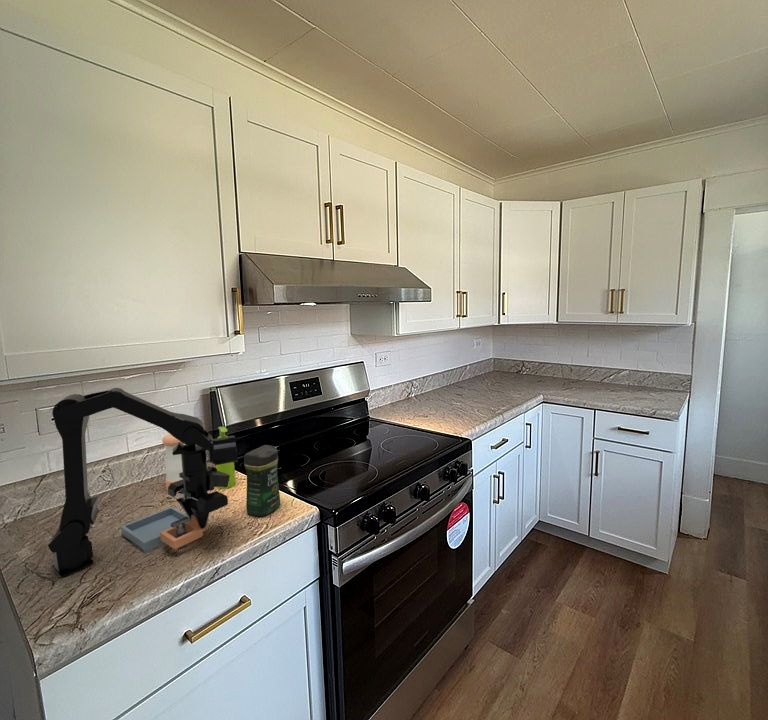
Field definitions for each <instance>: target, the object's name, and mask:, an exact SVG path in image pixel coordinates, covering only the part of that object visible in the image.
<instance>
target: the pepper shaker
mask: <svg viewBox="0 0 768 720" xmlns="http://www.w3.org/2000/svg"><path fill="white" fill-rule="evenodd" d="M161 442H162V444H163V446H165V456H166V459H165V476H166V478H165V490H167V491H166V492H168V487H169V485H170V484H171V483H174V482H177V481H179V480H182V479H183V478H180V476H179V473H182V472H183V471H182V459H181V454H178V455H173V454H172V452H173V449H174V448H175V447H176V446H177V444H178V443H179V442H180V443H181V444H183V445H185V444H184V443H182V442H181V441H179V440H178V439H176V438H175V437H173V436H172V435H171V434H170V433H168V434H165V436H163V438H162V440H161Z"/></svg>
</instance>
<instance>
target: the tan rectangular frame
mask: <svg viewBox="0 0 768 720" xmlns="http://www.w3.org/2000/svg"><path fill="white" fill-rule="evenodd" d="M191 522H192V523H191ZM191 522H189V521H188V522H186V523H185V531H188V532H189V533H187V534H185V535H182V536H180V537H178V538H175V537H173V536H176V535H177V533H176V527H174V528H173V527H171V528H169V529H167V530H164V531H162V532H160V538H161V541H163V542H164V543H165V544H166V545H167V546H169V547H170V548H172V549H173V550H177V549H179V547H181V546H183V545H185V544H187V545H188V544H190V543H192V542H194V541H195V540H197V539H200V538H202V537H204V535H203V532H205V531H207V530H208V522H207V523H206V527H205V528H203V529H202V528H200V526H199V524H198V522H197V520H196V518H195V516H194V514H193V515H191Z"/></svg>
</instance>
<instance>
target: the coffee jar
mask: <svg viewBox="0 0 768 720" xmlns="http://www.w3.org/2000/svg"><path fill="white" fill-rule="evenodd" d="M278 453H279V452H278V449H277V447H276V446H274V445H268V444H264V445H261V446H260V447H258V448H255V449H252V450H251V451H249V452H247V453H245V454H244V460H243V462H244V463H243V464H244V468H245V473H246V504H245V505H246V506H245V507H246V512H247V514H250V516H254V517H261V516H263V517H264V516H267V515H269V514H271V513H272V512H274V511H276V510H277V509H278V508H279V507H280V505H281V494H280V487H279V486H280V485H279V479H278V478H279V477H278V463H279V454H278Z"/></svg>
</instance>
